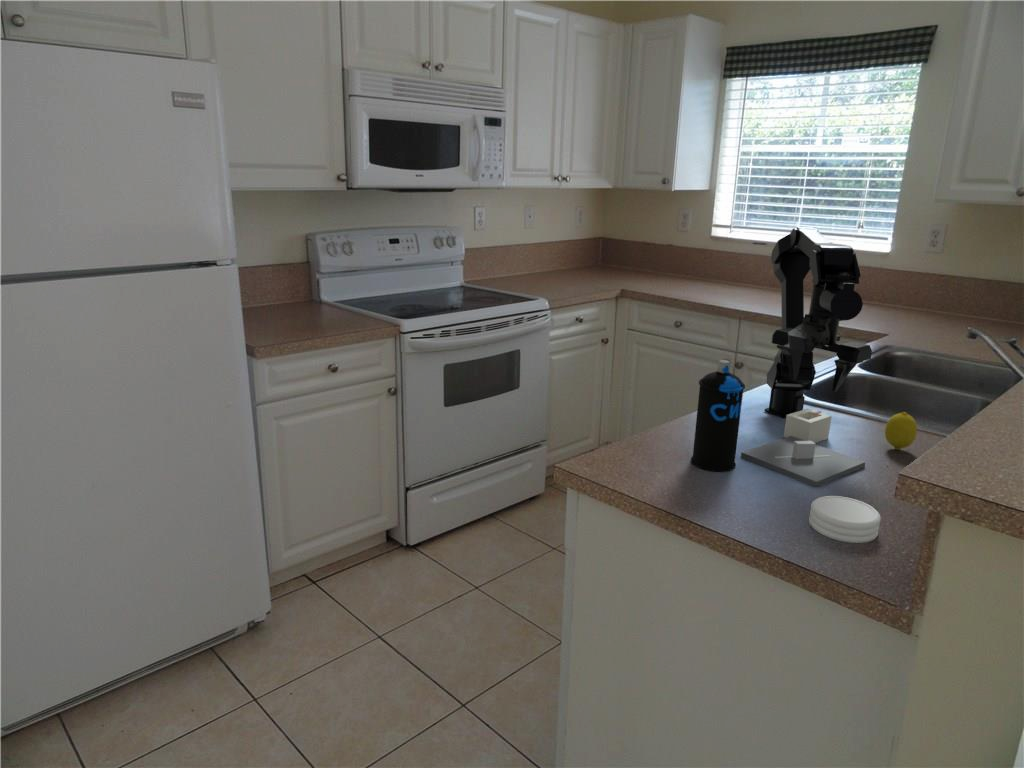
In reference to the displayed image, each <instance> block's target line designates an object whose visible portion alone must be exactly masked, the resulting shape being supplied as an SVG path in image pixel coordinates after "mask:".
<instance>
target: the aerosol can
mask: <svg viewBox="0 0 1024 768" xmlns="http://www.w3.org/2000/svg"><path fill="white" fill-rule="evenodd" d="M730 364H731V361H729V360H726V359H720V360H718V364H717V367H718V368H717V370H716V371H713V372H709V373H708V374H705V375H704V376H703V377H702V378H701V379H699V380H698V386H699V391H698V402H697V410H696V411H697V412H696V421H695V429H694V430H695V432H694V440H693V441H694V442H693V449H692V450H693V451H692V456H691V458H690V462H691V463H692V464H693V465H694V466H695V467H697V468H699V469H701V470H704V471H709V472H714V473H715V472H716V473H717V472H719V473H725V472H729V471H733V470H734V469H735V468H736V467H737V465H736V464H737V463H736V462H735V461H736V453H737V447H738V446H737V445H738V437H739V429H740V420H741V413H742V405H743V404H742V403H743V396H744V390H745V388H746V385H745V383H744V382H743V381H742V380H741V378H740V377H738V376H737V375H735V374H733V373H731V372H730V366H731V365H730Z"/></svg>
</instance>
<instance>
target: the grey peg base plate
mask: <svg viewBox="0 0 1024 768" xmlns="http://www.w3.org/2000/svg"><path fill="white" fill-rule="evenodd" d="M740 457H741V458H742V459H745V460H747V461H750V462H752V463H756V464H758V465H760V466H762V467H766V468H767V469H770V470H772V471H775V472H777V473H780V474H782V475H785V476H787V477H790V478H793V479H795V480H798V481H800V482H802V483H805V484H808V485H810V486H812V487H815V488H816V487H820V486H822V485H824V484H826V483H829V482H831V481H833V480H837V479H839V478H840V477H843V476H846V475H848V474H851V473H853V472H856V471H858V470H860V469H862V468H863V469H864V468H865V466H866V461H863V460H861V459H858V458H855V457H852V456H849V455H847V454H844V453H840V452H839V451H835V450H832V449H829V448H827V447H824V446H821V445H818V444H817V443H814V442H813V441H804V440H801V439H798V438H795V437H793V436H789V437H786V438H783V437H782V438H780V439H777V440H775V441H774V440H773V441H771V442H768V443H765V444H762V445H759V446H756V447H753V448H750V449H747V450H743V451H741V453H740Z"/></svg>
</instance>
